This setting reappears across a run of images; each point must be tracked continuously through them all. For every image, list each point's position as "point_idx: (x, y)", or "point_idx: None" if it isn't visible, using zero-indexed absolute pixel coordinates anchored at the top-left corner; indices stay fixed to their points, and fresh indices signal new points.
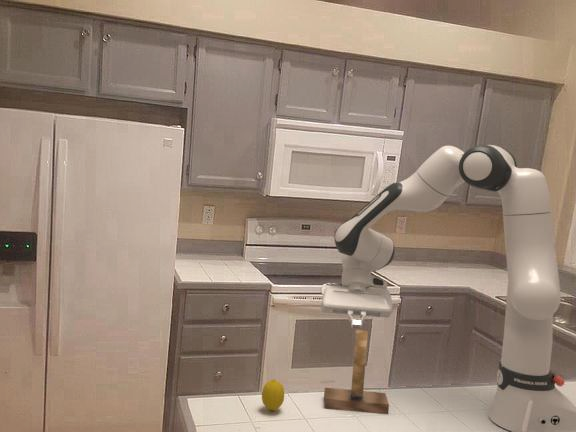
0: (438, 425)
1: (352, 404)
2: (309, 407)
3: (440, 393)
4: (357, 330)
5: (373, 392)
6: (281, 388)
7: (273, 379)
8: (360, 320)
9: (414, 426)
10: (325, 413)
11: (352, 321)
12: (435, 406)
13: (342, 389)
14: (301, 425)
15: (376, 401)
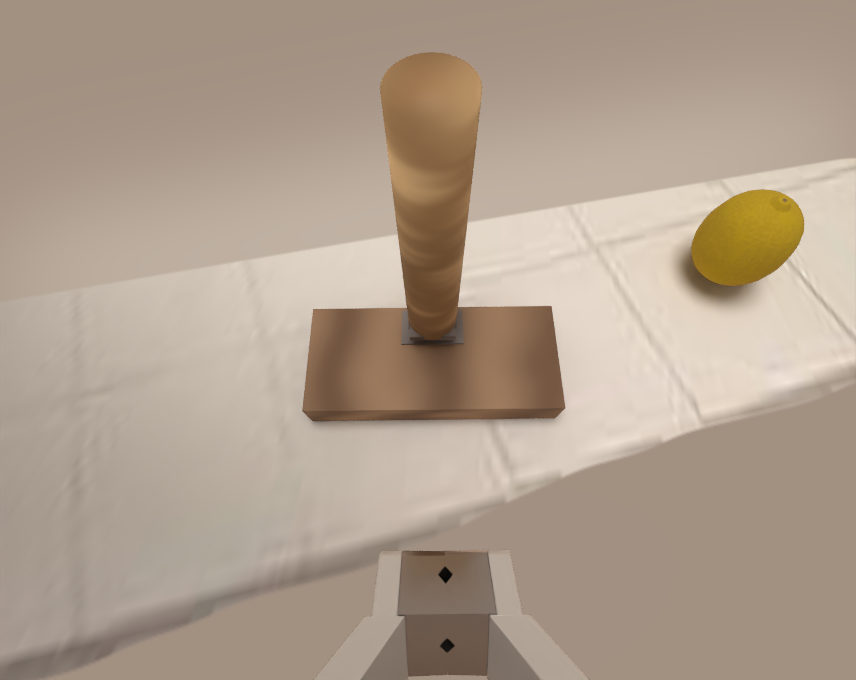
0: (173, 283)
1: None
2: (595, 319)
3: (9, 579)
4: (468, 101)
5: (354, 404)
6: (729, 206)
7: (787, 199)
8: (394, 608)
9: (256, 263)
10: (536, 289)
11: (506, 585)
12: (110, 425)
13: (487, 406)
14: (597, 210)
15: (356, 323)
